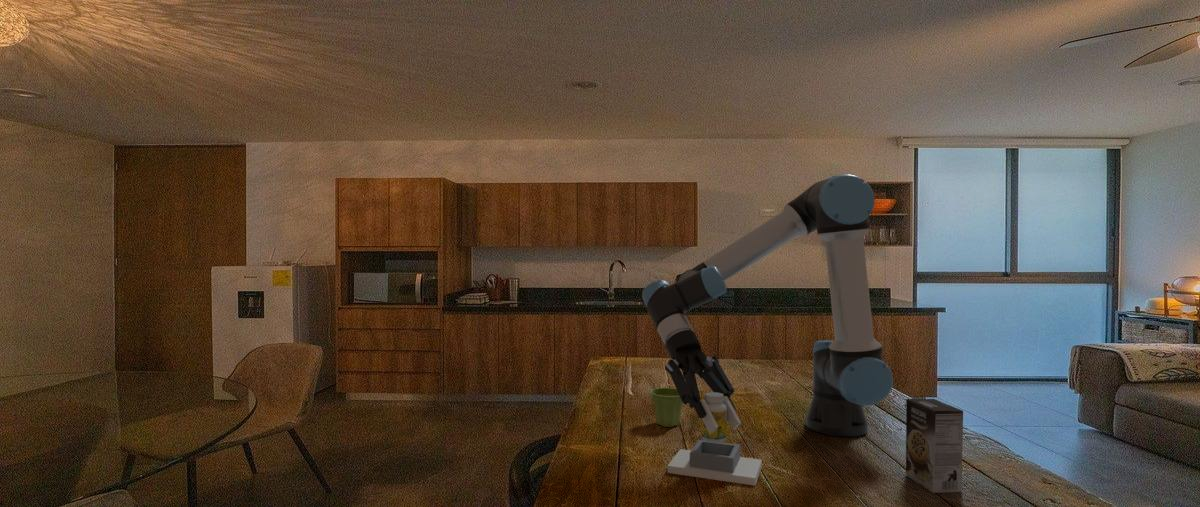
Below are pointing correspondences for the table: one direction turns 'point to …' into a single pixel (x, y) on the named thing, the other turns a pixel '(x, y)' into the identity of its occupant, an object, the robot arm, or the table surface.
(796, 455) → the table surface
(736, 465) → the white base grey socket
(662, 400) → the plant pot
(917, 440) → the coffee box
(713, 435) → the supplement bottle
